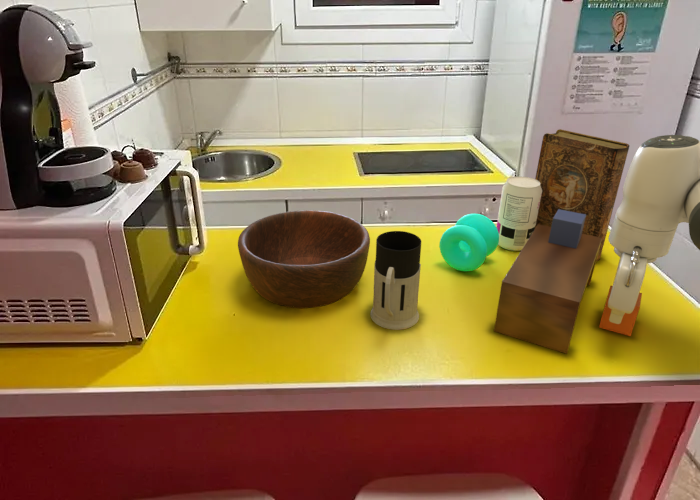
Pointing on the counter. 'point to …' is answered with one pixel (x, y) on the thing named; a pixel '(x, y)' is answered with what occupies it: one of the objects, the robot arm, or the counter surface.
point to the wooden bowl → (304, 257)
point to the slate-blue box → (567, 228)
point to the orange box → (627, 319)
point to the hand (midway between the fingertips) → (617, 307)
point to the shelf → (546, 290)
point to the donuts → (469, 242)
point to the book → (580, 179)
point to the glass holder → (396, 280)
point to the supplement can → (518, 211)
